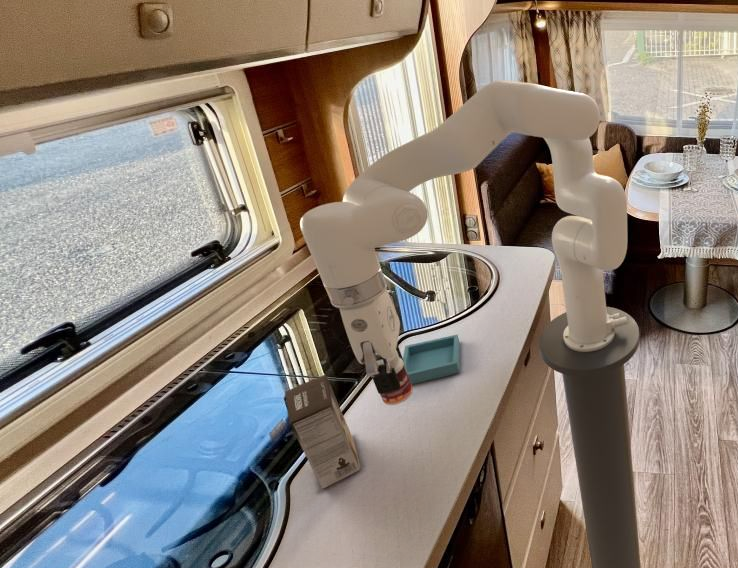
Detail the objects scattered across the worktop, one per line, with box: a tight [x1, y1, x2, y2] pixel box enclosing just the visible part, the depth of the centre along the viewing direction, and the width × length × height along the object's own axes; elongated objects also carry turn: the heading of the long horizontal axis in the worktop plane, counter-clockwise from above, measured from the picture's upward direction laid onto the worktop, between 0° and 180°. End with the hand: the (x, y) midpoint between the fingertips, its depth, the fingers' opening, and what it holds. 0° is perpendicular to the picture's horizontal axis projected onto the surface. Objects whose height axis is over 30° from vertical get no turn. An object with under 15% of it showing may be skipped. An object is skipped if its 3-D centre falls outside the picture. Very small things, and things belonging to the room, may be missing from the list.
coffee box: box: [284, 374, 361, 489], centre depth 87 cm, size 9×6×16 cm
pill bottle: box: [375, 350, 414, 406], centre depth 81 cm, size 5×5×8 cm
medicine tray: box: [402, 334, 461, 385], centre depth 112 cm, size 12×11×3 cm
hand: (391, 377), depth 81 cm, fingers closed on pill bottle, 4 cm apart
